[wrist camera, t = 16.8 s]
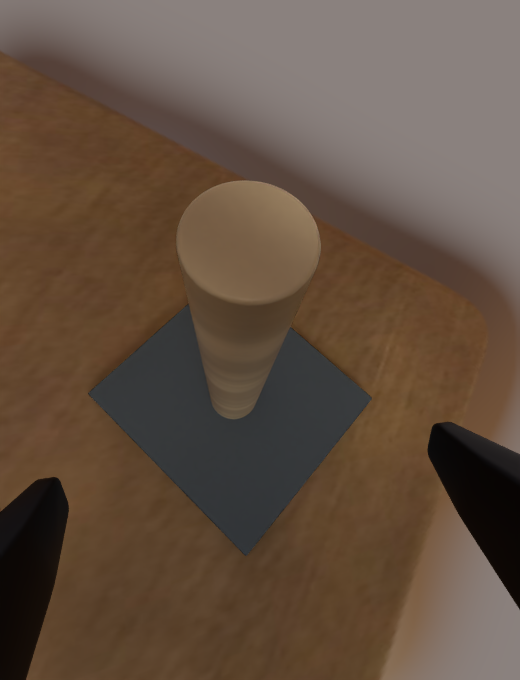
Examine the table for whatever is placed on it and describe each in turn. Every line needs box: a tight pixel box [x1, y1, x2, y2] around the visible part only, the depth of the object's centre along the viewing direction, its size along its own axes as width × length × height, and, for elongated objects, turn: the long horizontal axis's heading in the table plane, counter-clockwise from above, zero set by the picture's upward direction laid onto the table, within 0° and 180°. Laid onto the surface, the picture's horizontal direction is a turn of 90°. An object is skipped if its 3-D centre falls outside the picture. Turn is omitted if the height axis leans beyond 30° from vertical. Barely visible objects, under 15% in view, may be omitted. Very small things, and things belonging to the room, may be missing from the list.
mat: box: [88, 304, 372, 556], centre depth 19 cm, size 11×10×1 cm
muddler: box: [176, 181, 321, 419], centre depth 13 cm, size 2×2×14 cm
